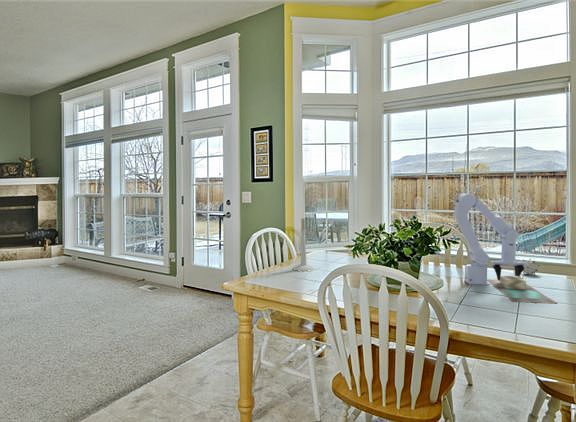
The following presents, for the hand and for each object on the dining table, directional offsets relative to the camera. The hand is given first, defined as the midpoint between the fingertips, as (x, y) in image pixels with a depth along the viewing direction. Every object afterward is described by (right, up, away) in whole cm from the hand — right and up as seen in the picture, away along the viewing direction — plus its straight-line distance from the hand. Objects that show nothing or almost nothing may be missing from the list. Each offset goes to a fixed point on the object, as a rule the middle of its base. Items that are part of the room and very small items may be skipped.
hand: (507, 280), depth 173 cm
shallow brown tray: (-2, -2, -11) cm, 12 cm away
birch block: (-1, -2, -6) cm, 6 cm away
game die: (+21, 0, +16) cm, 26 cm away
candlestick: (-96, -1, +37) cm, 103 cm away
